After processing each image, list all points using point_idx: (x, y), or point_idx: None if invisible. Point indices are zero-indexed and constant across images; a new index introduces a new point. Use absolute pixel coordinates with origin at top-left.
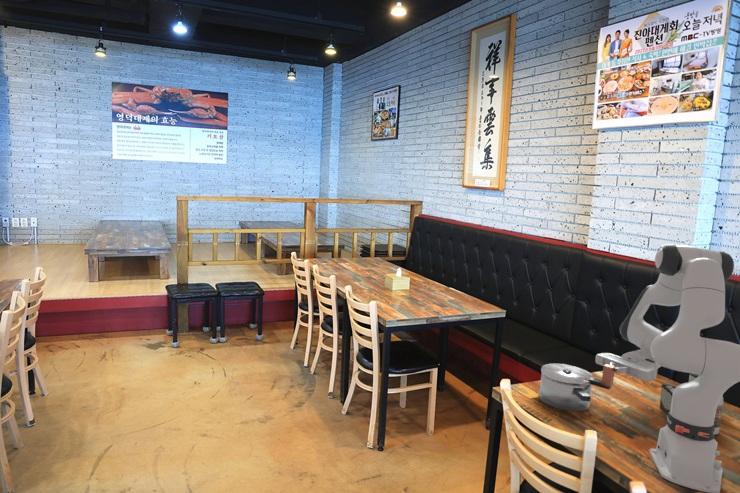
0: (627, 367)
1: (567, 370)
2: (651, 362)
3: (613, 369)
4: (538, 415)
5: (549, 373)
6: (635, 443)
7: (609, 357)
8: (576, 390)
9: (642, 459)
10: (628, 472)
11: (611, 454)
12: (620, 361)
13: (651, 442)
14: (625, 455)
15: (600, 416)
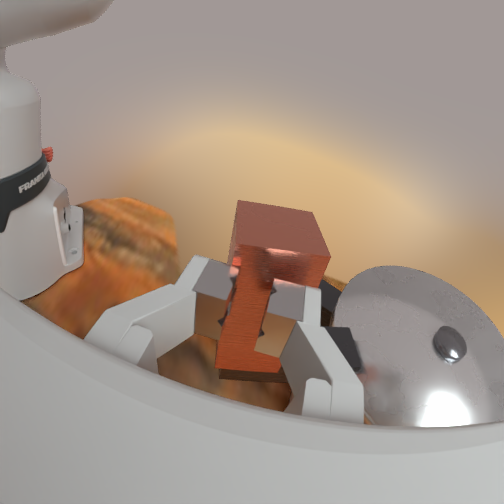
0: (90, 338)
1: (457, 347)
2: None
3: (233, 238)
4: (339, 281)
5: (442, 287)
6: (106, 286)
7: (464, 479)
8: (327, 283)
9: (102, 239)
10: (131, 204)
11: (157, 228)
12: (242, 468)
13: (65, 311)
14: (132, 236)
15: (225, 395)
